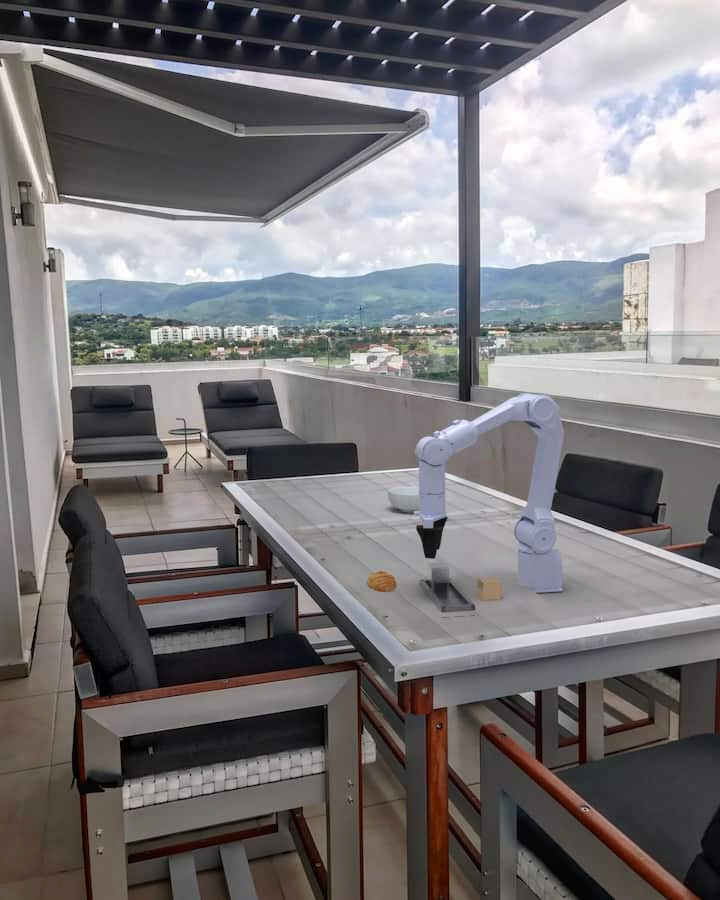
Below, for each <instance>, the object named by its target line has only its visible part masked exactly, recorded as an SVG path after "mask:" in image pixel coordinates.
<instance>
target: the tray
mask: <svg viewBox="0 0 720 900" xmlns="http://www.w3.org/2000/svg"><path fill="white" fill-rule="evenodd" d="M419 584H420V586H421V588H422V589H423V590H424V592H425V593H426V594H427V595H428V596H429V598H430V600H432V601H433V603H434V604H435V606H436V607H437V608H438V610H439V611H440V612H441V613H451V612H452V613H453V612H469V611H470V612H471V611H476V604H475V603H474V602H472V601H471V599H470V598H469V597H468V596H467V595H466V594H465V593H464V592H463V590H462V589H460V588H459V586H458V585H457V584H456V583H455V582H454V581H453V580H452V578H451V577H449V589H447V591H445V592H436V590H431V588H430V587H429V586H428V585H427V579H420V580H419ZM461 617H464V615H462V616H461V615H459V616H455V618H461ZM471 617H475V614H474V615H471ZM441 618H442V619H443V618H445V619H446V618H448V616H443V617H441Z"/></svg>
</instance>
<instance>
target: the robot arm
mask: <svg viewBox="0 0 720 900" xmlns="http://www.w3.org/2000/svg"><path fill="white" fill-rule="evenodd" d="M560 409H561V407H560V406H559V404H557V402H556V401H555V400H554V399H553V398H552V397H550V396H549V395H548V394H547V395H546V394H534V393H533V394H532V393H530V392H523V393H520V394H519V395H518V396H513V397H511V398H509V399H507V400H506V401H505V402H503V403H501V404H500V405H497V406H496V407H494V408H492V409H491V410H489V411H487V412H485V413H484V414H482V415H481V416H478V417H477V418H474V420H472V421H469V420H467V419H466V420H465V419H461V420H459V419H455V420H453V421H452V425H451V426H448V427H446V428H444V429H443V430H441V431H439V430H436V431H434V432H433V436H424V437H422V438H421V439H420V440H419V441H418V442H417V444H416V448H415V449H414V454H415V456H416V458H417V460H418V487H419V511H414V513H413V516H415V517H419V518H420V519H421V520H422V523H423V524H417V525H416V527H415V529H416V532H417V534H418V536H419V538H420V541H421V545H422V550H423V555H424V558H425V559H433V560H434V559H436V557H437V551H438V550H440V548H441V543H442V536H443V533H444V532H443V531H444V528H445V525H446V524H447V521H448V519H449V518H448V516H447V512H446V463H447V461H448V460H449V457H451V456H453V455H455V454H457V453H459V452H461V451H462V450H464V449H466V448H468V447H471V446H473V445H474V444H476V442H477V440H478V437H479V435H482V434H483V433H485V432H488V431H490V430H492V429H494V428H496V427H499V426H500V425H502V424H504V423H505V424H506V423H507V422H509V421H522V422H523V423H524V424H526V425H527V426H529V428H530V429H531V430H532V431H533V432H534V434H535V435H536V437H537V443H536V449H535V455H534V460H533V466H532V472H531V477H530V478H531V479H530V485H529V489H528V496H527V502H526V505H525V507H523V509H522V510H521V511H520V515H519V519H518V520H517V521H516V523H515V525H514V527H513V535H514V538H515V539H516V541H517V542H518V546H517V584H518V586H521V587H524V588H528V589H529V588H530V589H531V590H532V591H533V592H534V593H536V594H539V593H540V594H541V593H556V592H557V593H558V592H563V591H564V589H563V559H562V558H563V557H562V555H561V552H560V551H559V549H556V548H554V546H555V544H556V542H557V534H556V530H555V524H556V520H555V517H554V515H553V512H552V506H553V499H554V494H555V487H556V482H557V477H558V471H559V465H560V459H561V453H562V448H563V442H564V437H565V429H564V426H563V423H562V419H561V417H560Z"/></svg>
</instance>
